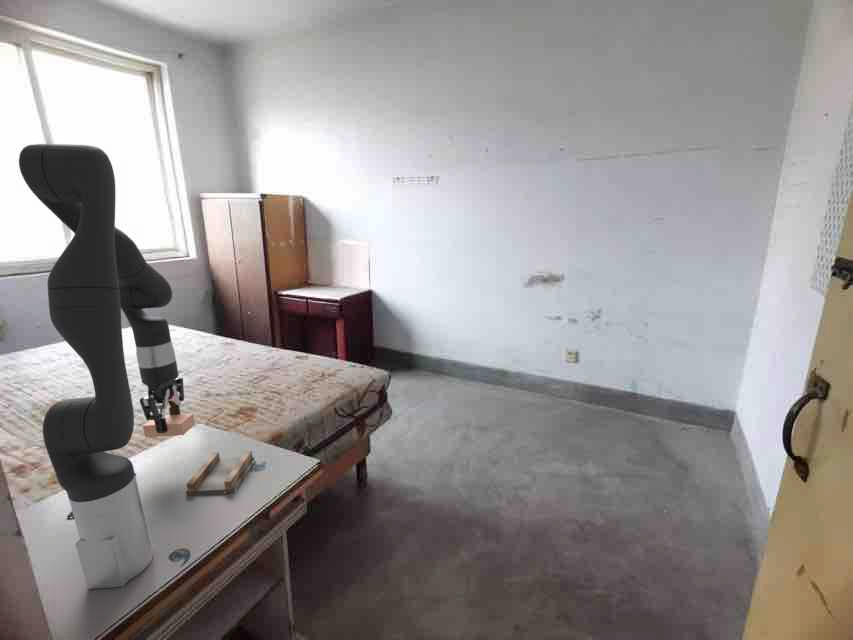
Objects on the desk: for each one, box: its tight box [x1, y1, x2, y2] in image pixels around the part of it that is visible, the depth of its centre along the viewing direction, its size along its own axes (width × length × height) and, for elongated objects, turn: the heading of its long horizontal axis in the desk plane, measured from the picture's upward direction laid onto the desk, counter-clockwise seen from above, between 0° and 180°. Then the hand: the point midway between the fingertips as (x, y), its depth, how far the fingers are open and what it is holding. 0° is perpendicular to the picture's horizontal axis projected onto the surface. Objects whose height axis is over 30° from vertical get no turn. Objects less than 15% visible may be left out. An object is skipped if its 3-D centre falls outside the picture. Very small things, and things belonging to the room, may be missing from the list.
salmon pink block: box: [142, 413, 196, 438], centre depth 100 cm, size 9×6×3 cm, turn 93°
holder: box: [185, 450, 256, 496], centre depth 100 cm, size 13×11×3 cm
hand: (169, 426), depth 101 cm, fingers closed on salmon pink block, 5 cm apart
